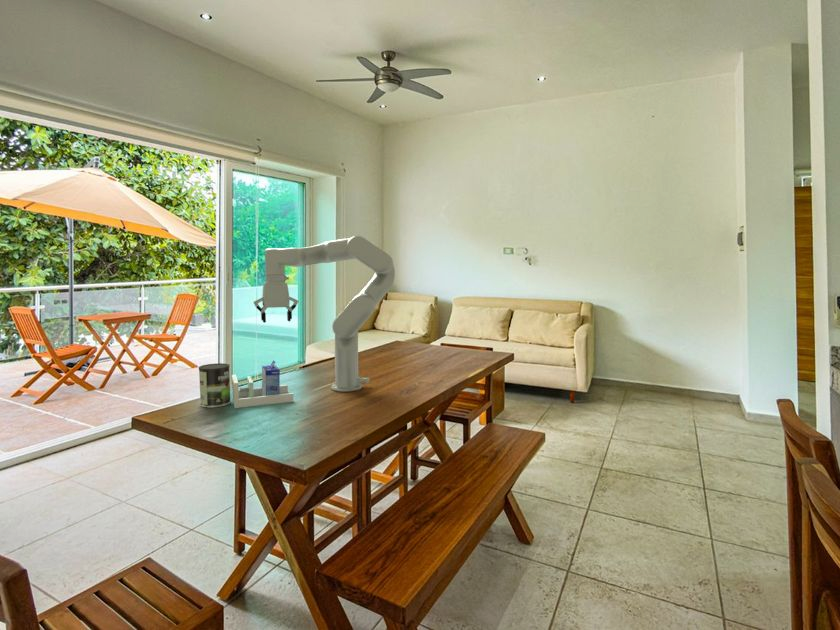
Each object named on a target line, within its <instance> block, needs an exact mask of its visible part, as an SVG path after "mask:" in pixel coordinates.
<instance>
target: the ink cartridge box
mask: <svg viewBox="0 0 840 630" xmlns="http://www.w3.org/2000/svg"><path fill="white" fill-rule="evenodd" d="M275 363H276V360H272V362H271V364H268V365H262V367H261V369H262V370H261V387H262V396H268V395H277V394H280V384H281V383H280V380H281V379H280V377H281V376H280V375H281V374H280V368H278V366H277V365H276V364H275Z"/></svg>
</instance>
